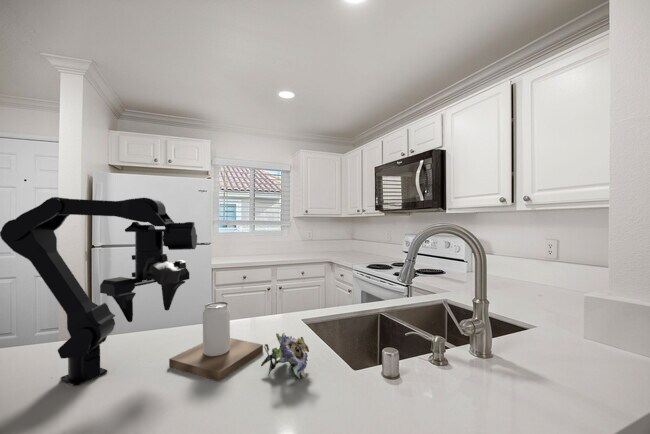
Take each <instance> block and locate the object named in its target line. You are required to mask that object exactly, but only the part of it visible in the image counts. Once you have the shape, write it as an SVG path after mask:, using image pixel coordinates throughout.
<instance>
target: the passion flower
mask: <svg viewBox="0 0 650 434" xmlns="http://www.w3.org/2000/svg"><path fill="white" fill-rule="evenodd" d="M275 335H276V338H277V341H278V343H279V348H277V347H273V348H271V354H270V353H269V351H270V348H269V344H268V343H265V344H264V345H263V349H264V350H265V352H266V354H267V356H266V358H265V359H264V360H263V361H262V363H261V365H260V367H263V366H264V365H265V364H267V363H268V362H269V361H270V362H269V368H268V375H267V376H268V377H269V376H270V374H271V372H272V371H273V370H274V369H276V366H277V365H278V364H279V363H280V364H284V363H285V364H286V363H289V364H290V368H289V375H290V376H291V377H292V378H294V379H296V380H297V381H300V379H305V378H306V372H305V369H306V368H307V366H308V363H307V362H308V353H309V352H310V350H309V346H308V345H307V343H306V342H305V338H304V337H303V336H300V337H297V339H296V338H295V337H293V336H292V335H290V336H287V335H286V334H285V332H283V333H282V334H281V335H280V333H277V332H276V333H275ZM273 360H274V362H273Z"/></svg>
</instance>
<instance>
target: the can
mask: <svg viewBox="0 0 650 434" xmlns="http://www.w3.org/2000/svg"><path fill="white" fill-rule="evenodd" d="M230 313H231V312H230V308H229V306H228V302H227V301H226V302H225V301H215V302H210V303H207V304H205V305H204V309H203V311H202V343H203V353H204V354H205V355H206V356H208V357H217V356H221V355H224V354H226V353H227V352H228V351H229V349H230V338H231V331H230V330H231V325H230V323H231V321H230V319H231V318H230V316H231V315H230Z"/></svg>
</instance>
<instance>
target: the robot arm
mask: <svg viewBox="0 0 650 434" xmlns="http://www.w3.org/2000/svg"><path fill="white" fill-rule="evenodd" d="M72 215H75V216H95V217H96V216H99V217H100V216H101V217H117V218H122V219H125V220H130V221H133V222H131V224H130V225H129V226H127V227H126V228H125V229H124V232H125V233H135V235H134V240H135V243H134V246H135V249H134V250H135V252H134V254H133V255H131V260H132V261H134V263H135V264H134V265H135V267H134V268H135V269H134V270H135V271H133V272H131V277H122V276H117V277H112V278H107V279H103V280H102V282H101V283H100V284H99V293H100V294H104V295H105V294H106V296H107V297H112V298H113V300H114V302H115V303H116V304H117V305H118V306H119V308H120V310H121V312H122V314H123V316H124V318H125V319H126V321H127V322H128V323H132V322H133V318H134V309H133V308H134V305H133V303H134V302H133V299H134V297H135V296H136V294H137V293H136V292H135V291H134V289H136V287H140V286H145V285H149V284H154V283H157V284H158V285H160V286H161V295H162V303H163V308H164V311H169V310H170V309H171V306H172V304H173V300H174V297H175V295H176V292H177V291H178V289H179V288H180V287H181V286H182V285H184V284H185V283H186V281H188V280H190V271H189V270H188V268H187V263H186V262H187V261H185V260H183V259H179V260H176V261H173V262H169V261H168V260H169V259H168V256H167V253H164V247H167V248H168V250H169V251H181V250H184V251H185V250H186V251H187V250H189V251H190V250H196V248H197V244H198V234H197V230H196V227H195V222H194V221H187V222H174V221H173V219H172V218H171V216H169V215H168V213H167V212H166V206H165V204H164V203H163V202H162V201H161V200H159V199H155V198H149V197H137V198H136V197H135V198H129V199H124V200H123V199H122V200H104V199H103V200H99V199H82V198H81V199H78V198H68V197H67V198H66V197H59V196H58V197H57V196H54V197H49V198H48V199H46V200H45V201H43V202H42V203H40V204H39V205H38V206H35V207H34V208H31V209H29V210H27V211H25V212H23V213H22V214H20V215H19V216H17V217H16V218H14V219H11V220H8V221H7V222H5V223H4V224H3V226H2V227H1V230H0V239H1V240H2V241H3V242H4V244H6V245H7V246H8V247H9V248H10V249H11V250H12V252H14V253H16V254H18V255H20V256H22V257H23V258H25V259H26V260H28V261H29V262H30V263H31V264H32V266H33V267H34V269H35V270H36V272H37V273H38V274H39V276H40V278H41V279H42V281H44V284H45V285H46V286H47V288H48V289H49V291H50V292H51V293H52V296H53V297H54V298H55V299H56V301H57V302H58V304H59V305H60V307H61V309H63V311H64V312H65V315H66V328H67V333H68V334H69V336H70V337H69V338H68V339H67V340H66V341H65V342H64V343H63V344H62V345H61V346H59V348H58V349H57V352H58V353H57V354H58V355H59V358H60V359H67V362H68V363H67V374H65V375H63V376H61V377H60V380H59V381H62V382H64V383H66V384H69V385H72V386H74V387H75V386H77V387H78V386H79V385H81V384H85V383H86V382H89V381H91V380H93V379H95V378H98V377H100V376H103V375H105V374H107V373H108V369H106V368H102V367H101V344H102V343H104V342H106V341H107V337H108V336H109V335H110V334H112V332H113V331H114V329H115V326H116V321H115V317H116V314H114V313H113V312H112V311H111V310H110V308H109V306H108V304H107V303H106V302H104V303H101V304H99V305H98V304H97V303H95V302H93V301H92V300H91V299H90V297H89V296H88V295H87V293H86V291H85V290H84V289H83V287H82V286H81V284H80V282H79V281H78V279H77V278H76V276H75V275H74V274H73V272H72V271H71V269H70V268H69V266H68V264H67V263H66V262H65V260H64V259H63V257H62V256H61V254H60V253H59V251H58V249H57V246H58V238H57V236H56V232H55V231H56V230H58V229H59V228H60V227H61V226H62V225H63V223H64V222H65V221H66V219H67V218H68V217H69V216H72ZM140 223H149V224H140ZM156 227H164V228H156ZM133 291H134V292H133Z"/></svg>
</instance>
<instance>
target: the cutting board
mask: <svg viewBox="0 0 650 434" xmlns="http://www.w3.org/2000/svg"><path fill="white" fill-rule="evenodd" d="M263 352H264V345H263V344H261V343H257V342H251V341H247V340H242V339H237V338H233V337H230V349H229V351H228V352H227V353H226V354H224V355H221V356H217V357H208V356H206V355H205V354H204V353H203V342H201V343H199V344H197V345H195V346H193V347H192V348H188V349H187V350H184V351H183V352H181V353H178V354H176V355H174V356H172V357H171V358H169V359H168V367H169V368H171V369H174V370H178V371H180V372H181V371H182V372H183V373H184V372H185V373H188V374H192V375H194V376H198V377H201V378H205V379H208V380H212V381H215V382H220V381H222V380H224V379H225V378H226V377H229V376H230V375H232V374H233V373H234V372H236V371H237V370H239V369H240V368H242V367H243V366H244V365H246V364H248V363H249V362H250V361H252V360H254V359H255V358H257V357H258V356H259V355H261V354H262V353H263Z"/></svg>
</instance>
